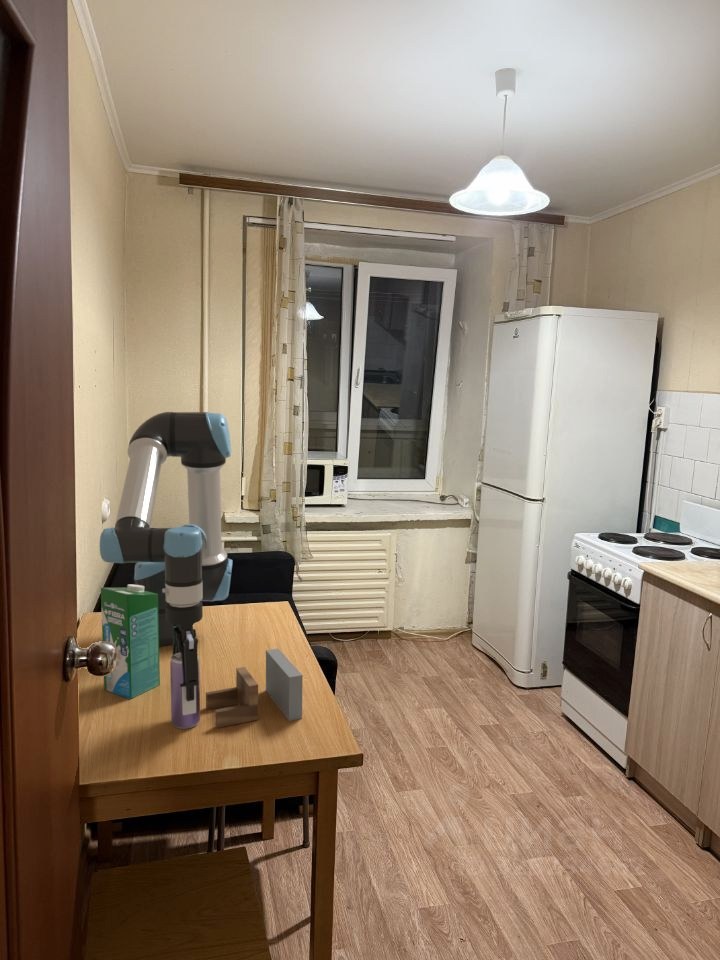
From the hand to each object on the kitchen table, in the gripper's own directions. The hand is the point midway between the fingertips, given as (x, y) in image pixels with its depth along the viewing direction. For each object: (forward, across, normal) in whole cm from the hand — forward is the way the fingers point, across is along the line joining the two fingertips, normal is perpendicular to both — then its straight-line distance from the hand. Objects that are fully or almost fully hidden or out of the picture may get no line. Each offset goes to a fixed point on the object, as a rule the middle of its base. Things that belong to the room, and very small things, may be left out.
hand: (185, 705), depth 146 cm
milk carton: (+4, -22, -8) cm, 24 cm away
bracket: (+4, 0, +10) cm, 11 cm away
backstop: (+4, 0, +22) cm, 22 cm away
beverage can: (+4, 0, 0) cm, 4 cm away
